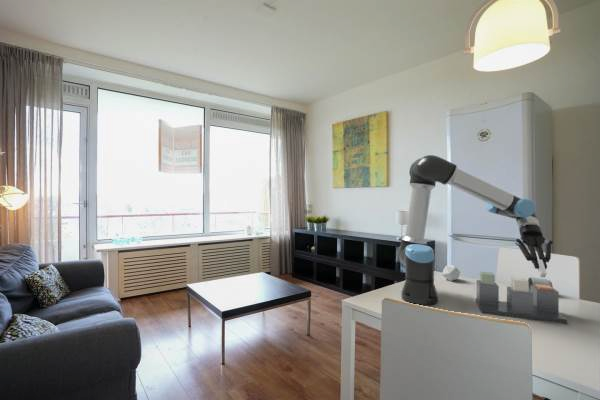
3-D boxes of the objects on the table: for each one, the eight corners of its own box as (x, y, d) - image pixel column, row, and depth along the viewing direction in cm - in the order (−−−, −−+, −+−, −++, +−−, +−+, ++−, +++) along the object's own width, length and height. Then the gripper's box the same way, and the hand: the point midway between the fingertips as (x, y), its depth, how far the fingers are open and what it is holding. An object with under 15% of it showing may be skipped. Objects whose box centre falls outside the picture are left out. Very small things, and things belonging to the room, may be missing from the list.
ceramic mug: (554, 296, 132) (553, 280, 132) (532, 294, 135) (532, 278, 135) (544, 290, 142) (543, 275, 142) (524, 289, 145) (524, 274, 145)
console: (481, 312, 114) (481, 288, 114) (475, 301, 126) (475, 279, 126) (567, 323, 104) (567, 297, 104) (551, 310, 116) (551, 286, 116)
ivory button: (514, 302, 111) (514, 280, 111) (510, 299, 115) (511, 277, 115) (528, 304, 109) (528, 281, 109) (524, 300, 113) (524, 278, 113)
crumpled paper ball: (462, 283, 155) (464, 267, 160) (450, 276, 153) (452, 260, 158) (450, 285, 162) (451, 269, 167) (438, 278, 160) (440, 262, 165)
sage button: (482, 294, 120) (482, 274, 120) (480, 291, 124) (480, 271, 124) (494, 296, 118) (494, 275, 118) (492, 292, 122) (492, 272, 122)
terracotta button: (539, 309, 113) (539, 287, 113) (535, 305, 117) (535, 284, 117) (553, 310, 111) (553, 288, 111) (548, 306, 115) (548, 285, 115)
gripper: (545, 235, 129) (561, 282, 114) (510, 233, 134) (520, 278, 119) (550, 224, 124) (567, 272, 109) (513, 222, 129) (525, 268, 114)
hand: (543, 275), depth 114 cm, fingers closed
